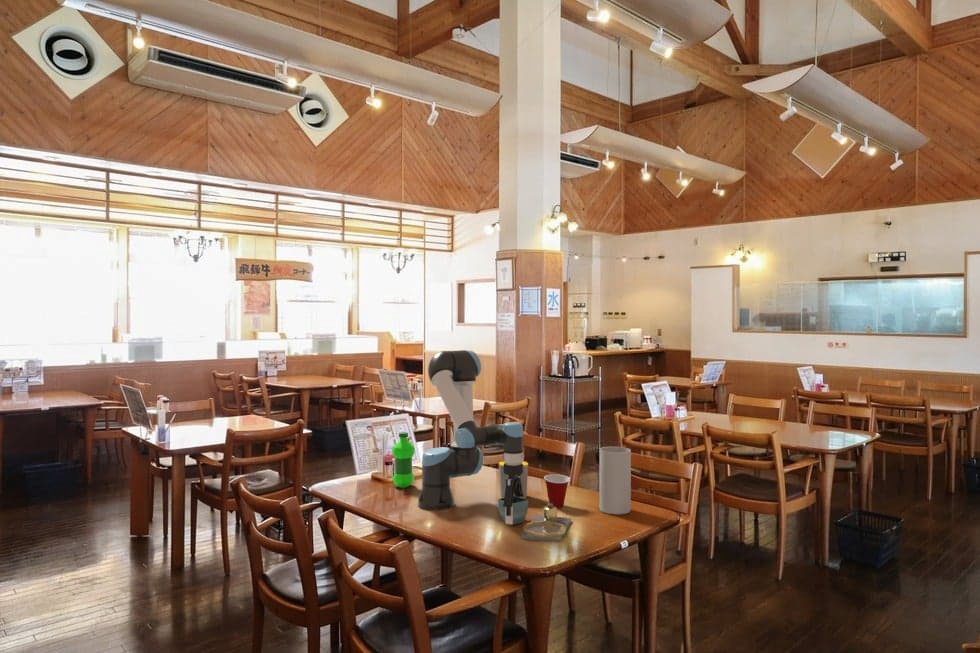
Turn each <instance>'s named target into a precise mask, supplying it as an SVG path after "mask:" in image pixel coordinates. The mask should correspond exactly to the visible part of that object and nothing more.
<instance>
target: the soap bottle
mask: <svg viewBox="0 0 980 653" xmlns="http://www.w3.org/2000/svg"><path fill="white" fill-rule="evenodd" d="M504 464H505V463H504V462H503V461H500V462H498V471H499V472H498V474H499V493H500V499H501V498H504V497H505V488H506V479H508V477H509V476H508V475H506V474H504ZM522 464H523V473H522V474H521V484H522V491H523V493H522V494H523V497H521V498H524V499H526V498H527V496H528V495H527V491H528V475H529V473H528V472H529V463H528V462H527V461H524V460H523V462H522ZM514 496H515V494H514Z"/></svg>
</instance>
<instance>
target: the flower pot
mask: <svg viewBox="0 0 980 653" xmlns="http://www.w3.org/2000/svg"><path fill="white" fill-rule="evenodd" d="M529 502H530V500H529V499H526V498H525V499H524V498H520V497H517V496H513V502H512V506H513V524H510V525H511V526H514V525H518V524H521V523H523V522H524V521H525V519H526V518H527V514H528V508H529V504H530V503H529ZM497 504H498V511H499V515H500V518H501V519H502V521H503V522H504V523H505V507H503V504H504V498H501V497H500V498H498V499H497Z"/></svg>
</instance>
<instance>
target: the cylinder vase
mask: <svg viewBox="0 0 980 653" xmlns="http://www.w3.org/2000/svg"><path fill="white" fill-rule="evenodd" d="M631 450H632V449H630V448H629V447H628V448H627V447H622V446H603V447H599V494H598V495H599V500H598V501H599V508H598V509H599V511H600V512H602V513H605V514H609V515H613V516H614V515H618V516H619V515H626V514H629V513H630V512H631V507H632V506H631V504H632V503H631V498H632V497H631V496H632V494H631V491H632V489H631V488H632V487H631V486H632V484H631V483H632V478H631V477H632V474H631V473H632V472H631V468H632V467H631V464H632V462H631V461H632V459H631V457H632V453H631V452H632V451H631Z"/></svg>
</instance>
